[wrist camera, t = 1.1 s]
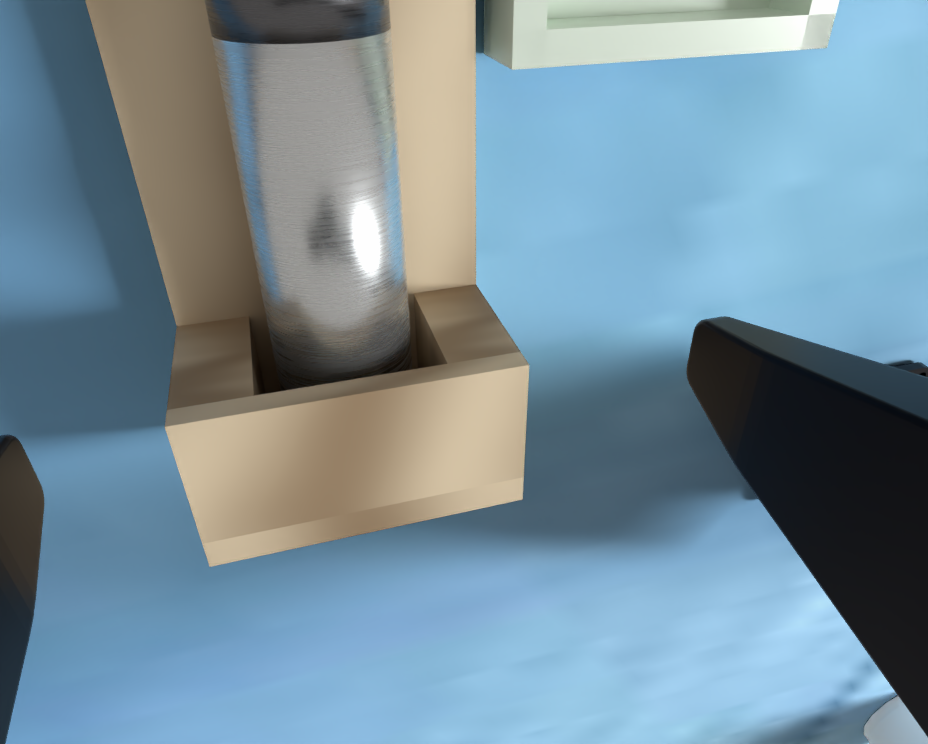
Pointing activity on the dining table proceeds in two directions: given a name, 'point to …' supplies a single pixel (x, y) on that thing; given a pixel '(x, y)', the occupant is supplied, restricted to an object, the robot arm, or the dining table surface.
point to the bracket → (244, 318)
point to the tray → (648, 29)
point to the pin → (319, 180)
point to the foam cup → (894, 725)
